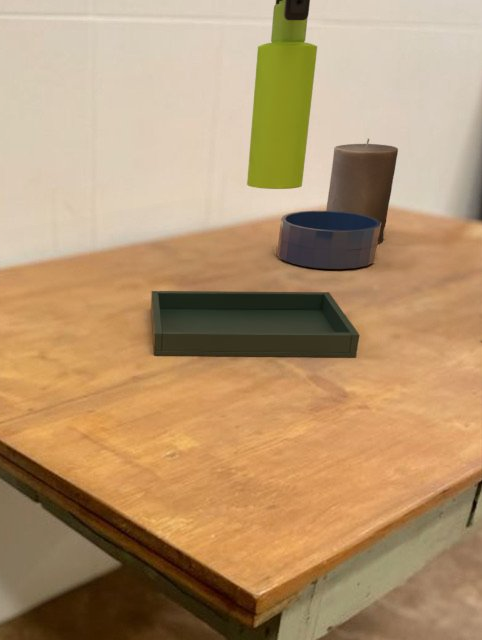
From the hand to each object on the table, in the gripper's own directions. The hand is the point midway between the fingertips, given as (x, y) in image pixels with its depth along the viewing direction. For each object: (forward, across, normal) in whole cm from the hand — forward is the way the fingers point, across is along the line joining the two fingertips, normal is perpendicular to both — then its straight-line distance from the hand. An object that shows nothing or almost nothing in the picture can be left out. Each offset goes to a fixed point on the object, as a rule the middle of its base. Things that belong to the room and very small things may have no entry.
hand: (290, 19), depth 80 cm
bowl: (+31, +31, -14) cm, 46 cm away
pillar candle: (+31, +44, -21) cm, 58 cm away
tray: (+31, -3, +2) cm, 31 cm away
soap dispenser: (+16, 0, 0) cm, 16 cm away
